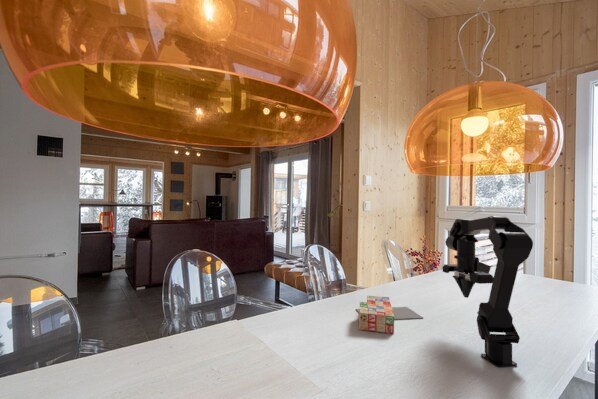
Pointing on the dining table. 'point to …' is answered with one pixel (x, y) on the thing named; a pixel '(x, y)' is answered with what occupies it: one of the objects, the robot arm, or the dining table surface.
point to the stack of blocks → (376, 315)
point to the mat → (403, 313)
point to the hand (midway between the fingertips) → (466, 297)
